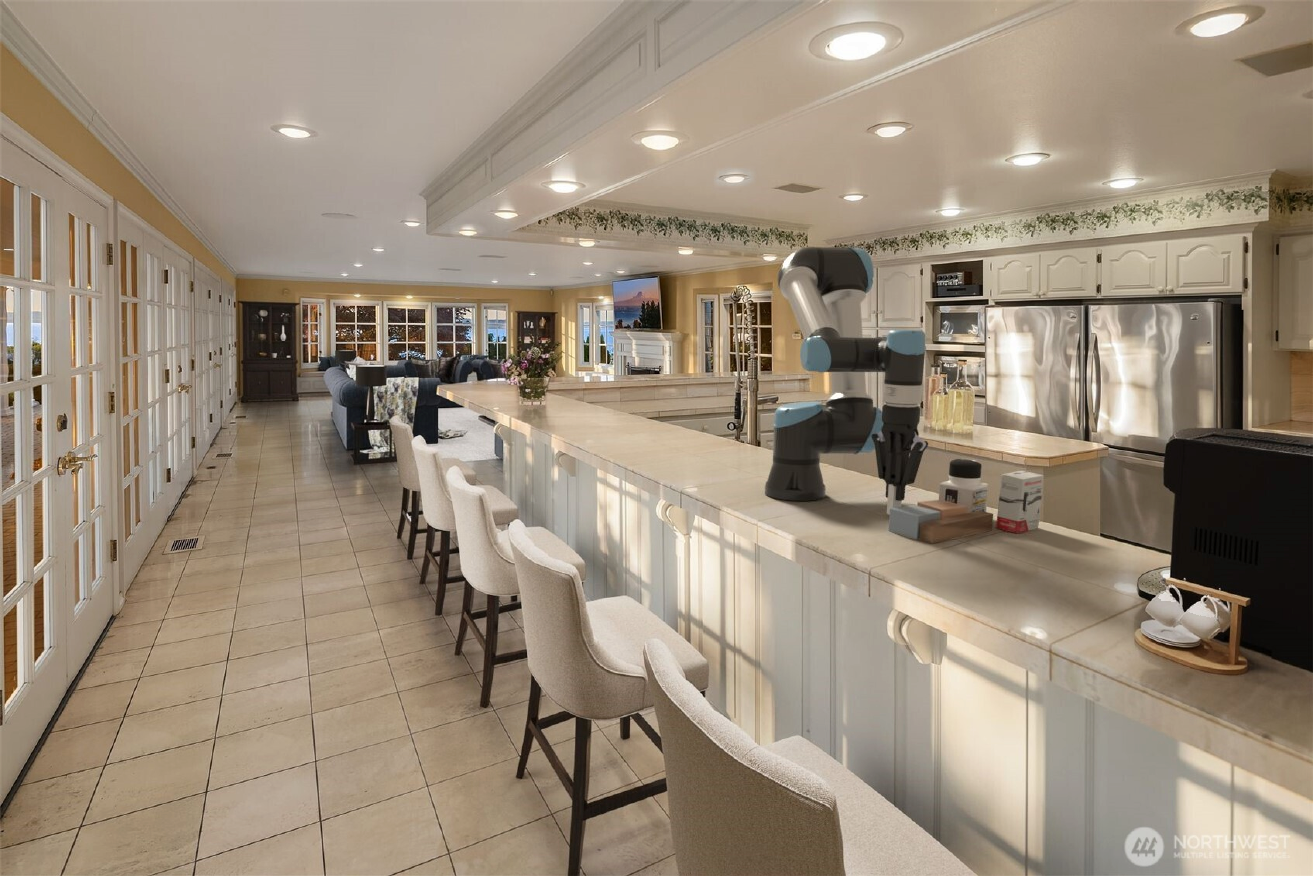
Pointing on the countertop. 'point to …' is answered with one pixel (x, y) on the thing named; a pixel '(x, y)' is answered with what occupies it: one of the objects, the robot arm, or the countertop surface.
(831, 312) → the robot arm
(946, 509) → the terracotta block
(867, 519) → the countertop surface
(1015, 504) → the ink box
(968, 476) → the container
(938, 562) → the countertop surface
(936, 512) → the slate block
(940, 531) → the walnut board
